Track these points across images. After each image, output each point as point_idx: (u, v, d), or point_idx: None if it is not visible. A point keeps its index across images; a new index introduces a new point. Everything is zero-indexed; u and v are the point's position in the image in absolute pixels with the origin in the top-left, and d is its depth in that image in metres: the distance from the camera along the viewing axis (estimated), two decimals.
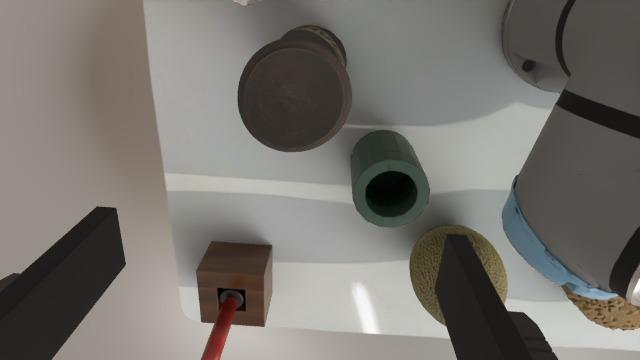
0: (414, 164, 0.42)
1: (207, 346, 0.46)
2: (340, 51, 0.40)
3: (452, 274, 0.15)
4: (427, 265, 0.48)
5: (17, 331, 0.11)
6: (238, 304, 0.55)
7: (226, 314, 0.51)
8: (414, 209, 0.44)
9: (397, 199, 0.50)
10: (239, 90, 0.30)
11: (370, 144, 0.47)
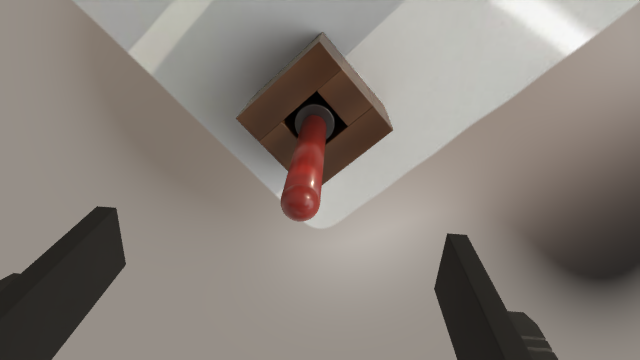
0: None
1: None
2: None
3: (452, 274, 0.15)
4: None
5: (17, 331, 0.11)
6: (329, 123, 0.32)
7: (305, 127, 0.29)
8: None
9: None
10: None
11: None
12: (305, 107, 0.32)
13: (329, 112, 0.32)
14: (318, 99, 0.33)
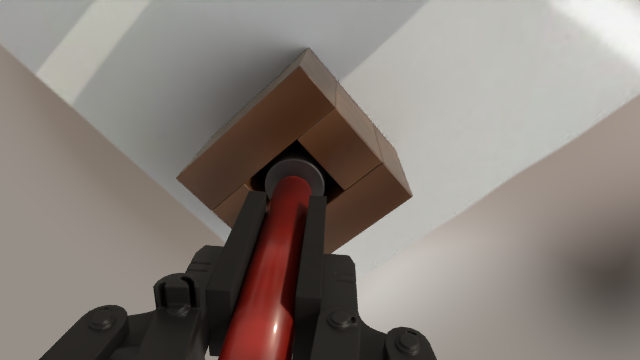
0: None
1: None
2: None
3: None
4: None
5: (238, 289, 0.13)
6: (316, 186, 0.21)
7: (275, 205, 0.18)
8: None
9: None
10: None
11: None
12: (280, 162, 0.21)
13: (316, 170, 0.21)
14: (301, 147, 0.22)
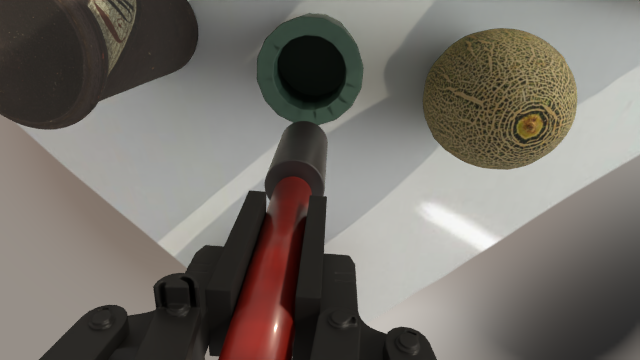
0: None
1: None
2: None
3: None
4: (436, 116, 0.33)
5: (238, 289, 0.13)
6: (316, 186, 0.21)
7: (275, 205, 0.18)
8: (350, 65, 0.31)
9: None
10: None
11: None
12: (280, 163, 0.21)
13: (316, 170, 0.21)
14: (301, 148, 0.22)
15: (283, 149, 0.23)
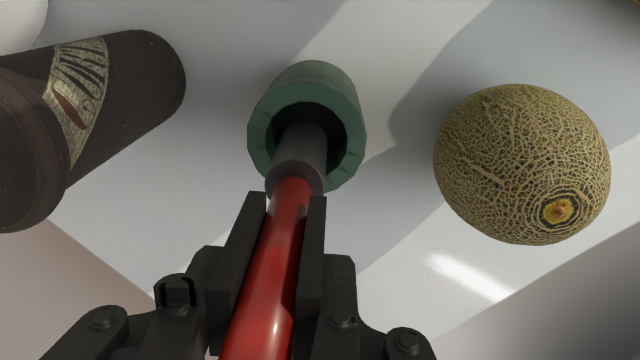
0: (293, 82, 0.26)
1: None
2: (101, 40, 0.28)
3: None
4: (448, 185, 0.29)
5: (238, 289, 0.13)
6: (316, 186, 0.21)
7: (275, 205, 0.18)
8: (352, 133, 0.27)
9: None
10: None
11: None
12: (280, 163, 0.21)
13: (316, 170, 0.21)
14: (301, 148, 0.22)
15: (283, 149, 0.23)
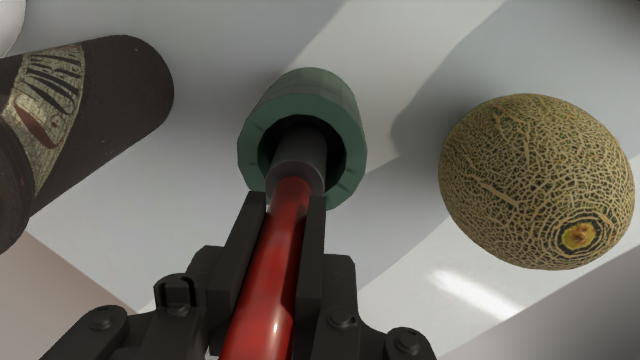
0: (287, 93, 0.24)
1: None
2: (79, 47, 0.26)
3: None
4: (456, 203, 0.27)
5: (238, 289, 0.13)
6: (316, 186, 0.21)
7: (275, 205, 0.18)
8: (351, 149, 0.25)
9: None
10: None
11: None
12: (280, 163, 0.21)
13: (316, 170, 0.21)
14: (301, 148, 0.22)
15: (283, 149, 0.23)
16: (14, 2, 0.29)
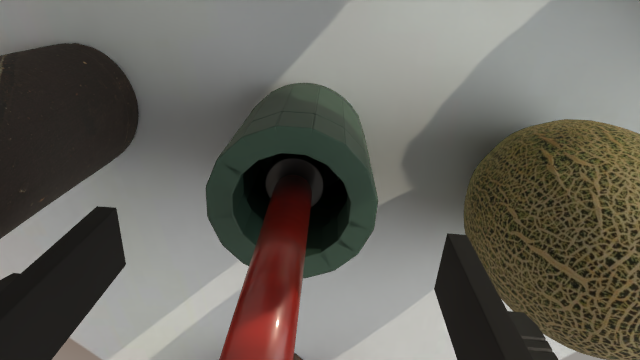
0: (270, 125, 0.18)
1: (242, 290, 0.14)
2: None
3: (452, 274, 0.15)
4: (492, 264, 0.21)
5: (17, 331, 0.11)
6: (316, 184, 0.21)
7: (276, 202, 0.18)
8: (356, 198, 0.19)
9: None
10: None
11: None
12: (280, 161, 0.21)
13: (316, 169, 0.21)
14: None
15: None
16: None
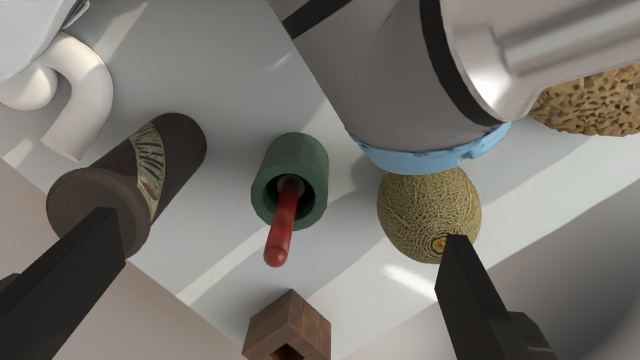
0: (280, 161, 0.42)
1: (271, 226, 0.37)
2: (156, 132, 0.43)
3: (452, 274, 0.15)
4: (383, 223, 0.44)
5: (17, 331, 0.11)
6: (301, 186, 0.45)
7: (282, 195, 0.41)
8: (318, 192, 0.43)
9: None
10: None
11: None
12: (284, 176, 0.45)
13: (301, 179, 0.45)
14: None
15: None
16: (109, 97, 0.47)
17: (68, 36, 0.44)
